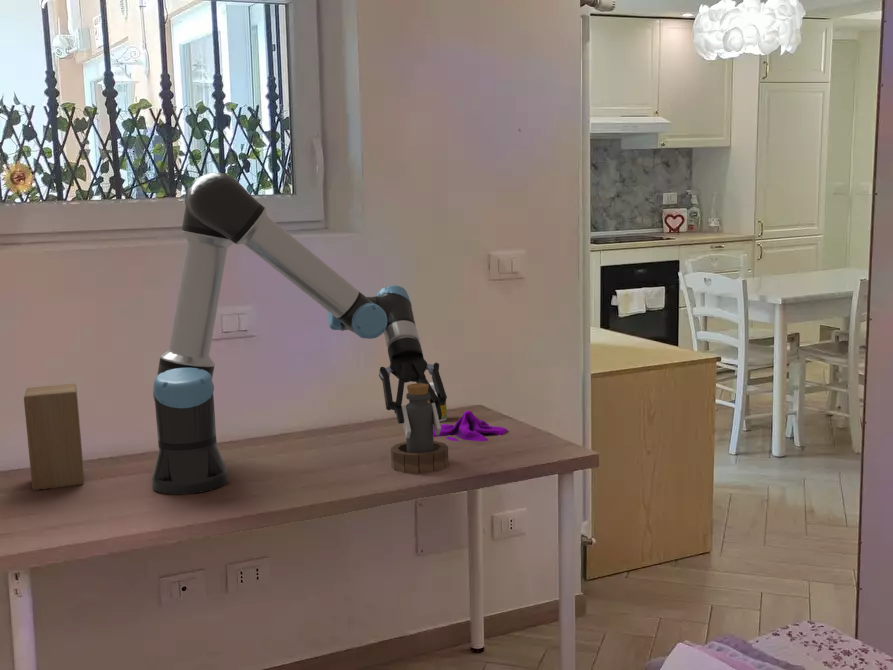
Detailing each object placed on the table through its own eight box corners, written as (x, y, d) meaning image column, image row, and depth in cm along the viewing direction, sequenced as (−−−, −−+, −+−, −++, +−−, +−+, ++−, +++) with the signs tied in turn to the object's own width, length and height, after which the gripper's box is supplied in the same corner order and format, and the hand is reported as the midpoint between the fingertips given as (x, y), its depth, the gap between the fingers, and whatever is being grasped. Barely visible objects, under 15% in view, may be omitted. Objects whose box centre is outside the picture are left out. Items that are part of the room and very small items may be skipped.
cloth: (412, 434, 238) (411, 410, 237) (470, 422, 249) (469, 399, 248) (468, 451, 221) (467, 425, 220) (528, 437, 232) (528, 412, 231)
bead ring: (398, 475, 201) (397, 457, 201) (387, 461, 213) (386, 443, 212) (454, 469, 204) (453, 451, 204) (439, 455, 216) (439, 438, 215)
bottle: (401, 455, 207) (399, 387, 205) (415, 448, 212) (412, 381, 210) (425, 458, 204) (423, 388, 202) (438, 451, 209) (436, 383, 207)
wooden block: (34, 478, 208) (25, 387, 205) (84, 472, 211) (76, 383, 208) (32, 491, 199) (23, 396, 196) (84, 485, 202) (76, 391, 199)
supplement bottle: (446, 422, 248) (445, 385, 246) (425, 422, 248) (424, 385, 246) (446, 417, 253) (445, 380, 252) (426, 417, 253) (425, 381, 252)
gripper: (441, 352, 223) (463, 438, 209) (360, 358, 218) (378, 446, 205) (446, 332, 217) (469, 419, 203) (364, 338, 212) (381, 428, 199)
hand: (423, 433), depth 204 cm, fingers closed on bottle, 6 cm apart
